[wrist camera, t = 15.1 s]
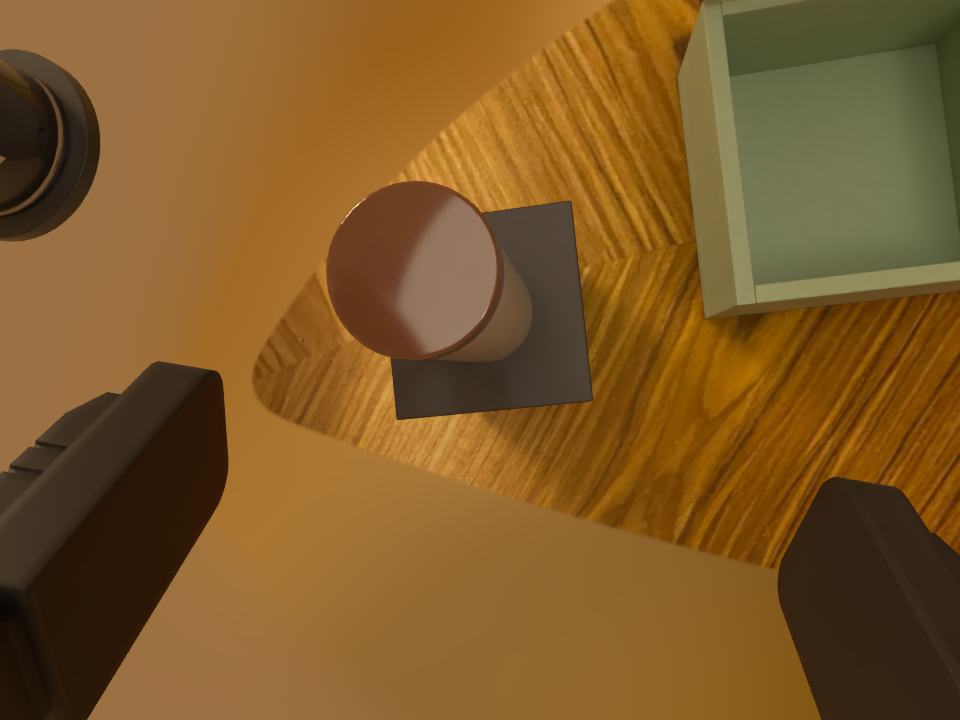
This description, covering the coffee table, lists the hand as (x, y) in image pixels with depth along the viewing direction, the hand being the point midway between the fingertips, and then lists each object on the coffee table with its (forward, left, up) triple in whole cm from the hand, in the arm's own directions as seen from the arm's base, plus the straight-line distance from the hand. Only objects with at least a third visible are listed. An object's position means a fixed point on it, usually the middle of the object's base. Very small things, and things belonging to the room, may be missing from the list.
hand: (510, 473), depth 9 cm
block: (-2, +4, -29) cm, 30 cm away
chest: (+15, +10, -29) cm, 34 cm away
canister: (-2, +4, -14) cm, 15 cm away
